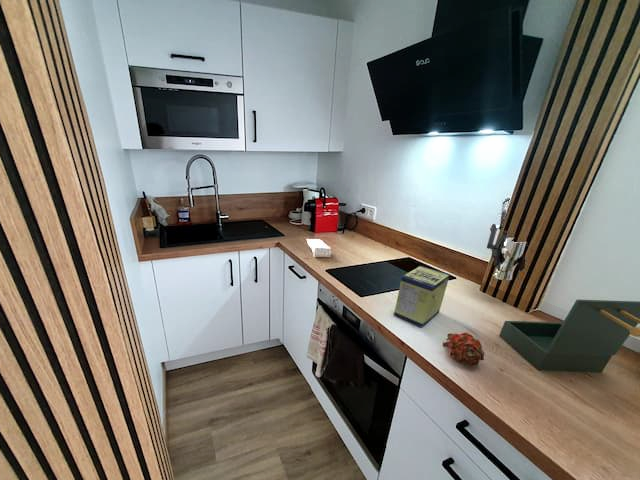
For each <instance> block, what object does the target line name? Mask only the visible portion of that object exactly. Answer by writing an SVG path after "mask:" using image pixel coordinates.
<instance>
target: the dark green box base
mask: <svg viewBox="0 0 640 480" xmlns="http://www.w3.org/2000/svg"><path fill="white" fill-rule="evenodd" d="M562 324H563V322H559V321H558V322H557V321H525V320H504V322H503V325H502V327H501V330H500V332H499V335H498V336H499V338H500V339H502V340H503V341H504V342H505V343H506V344H507V345H509V346H510V348H512V349H513V350H515V351H516V352H517V353H518V354H519V355H520V356H521V357H523V359H525V361H527V362H528V363H529V364H530V365H532V367H534V368H535V369H536V370H537V371H547V372H549V371H551V372H581V373H582V372H583V373H603V371H604V370H605V369H606V367H607V365H608V363H609V362H610V360H611V359H612V357H613V355H593V354H560V353H548V352H547V349H548V347H549V346H550V344H551V342H552V341H553V339H554V337H555V336H556V334H557V332H558V330H559V329H560V327H561V325H562Z"/></svg>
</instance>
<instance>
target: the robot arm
mask: <svg viewBox="0 0 640 480" xmlns="http://www.w3.org/2000/svg"><path fill="white" fill-rule="evenodd" d="M509 200H510V198H507V199H505V201H504V202H503V201H502V204H503V205H501V214H500V224H495V223H493V224H491V226H490V227H489V230H490V234H489V237H488V241H487V245H486V249H488V250H489V249H490V251H491V258H493V267H494V268H496V267H497V266H498V264H499V258H500V246H501V245H502V243H503V241H504V238H506V237H507V236H506V235H507V231H506V230H505V231H504V232H503V234H501V235H500V236H501V237H499V238H498V239H497V241H496V243H495V244H494V242H495V239H496V234H497V231H498V230H499V231H500V230H501V228H502V224H503V221H504V218H505V215H506V210H507V208H508V204H509ZM507 201H508V202H507ZM505 202H506V203H505ZM525 261H526V260H525V256H524V254H523V255H522V257H521V259H520V262H518V271H519V272H522V271H523V270H524V269H526V262H525Z"/></svg>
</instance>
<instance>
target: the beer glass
mask: <svg viewBox="0 0 640 480" xmlns="http://www.w3.org/2000/svg"><path fill="white" fill-rule="evenodd" d="M514 238H515V237H511V236H505V238H504V239H503V241H502V242H501V244H500V246H499V248H500V258H499V264H498V266H497V267H495V269H494V271H493V273H492V274H491V275H492V277H494V278H495V279H497V280H501V281H508V282H509V281H512V280H513V273H514V271H515V269H516V266H518V265H519V261H520V259H521V257H522V255H523V253H524V250H525V247H526V244H528V242H527V240H525V242H514V241H512V240H513V239H514Z"/></svg>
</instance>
